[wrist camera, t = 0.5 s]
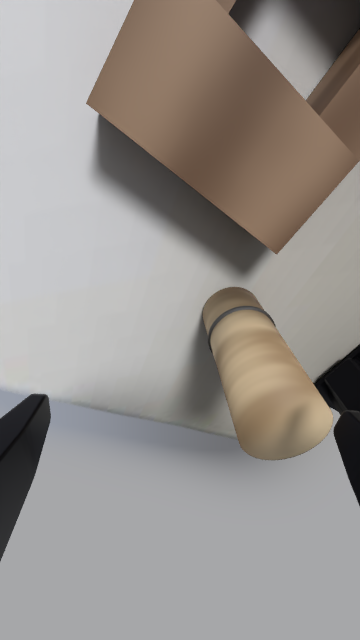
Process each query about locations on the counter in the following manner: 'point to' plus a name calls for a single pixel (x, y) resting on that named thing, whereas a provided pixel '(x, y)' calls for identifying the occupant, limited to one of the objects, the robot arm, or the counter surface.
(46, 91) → the counter surface
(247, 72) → the walnut board
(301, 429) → the oak peg
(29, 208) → the counter surface
